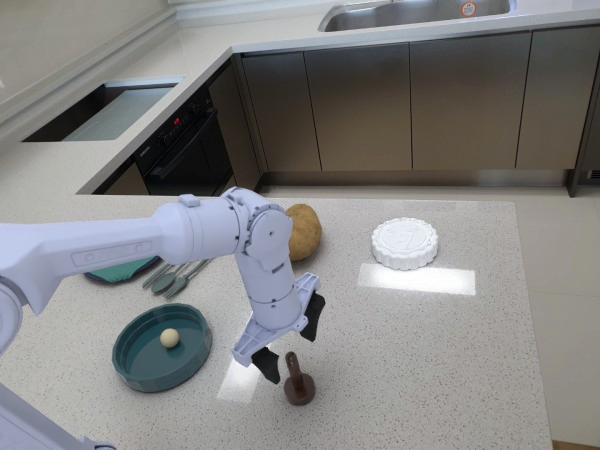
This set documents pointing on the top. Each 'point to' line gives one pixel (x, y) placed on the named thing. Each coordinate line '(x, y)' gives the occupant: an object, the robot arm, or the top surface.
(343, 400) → the top surface
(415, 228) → the mooncake
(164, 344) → the dough ball
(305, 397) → the wooden pestle
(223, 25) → the top surface
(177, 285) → the cutlery set
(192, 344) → the bowl
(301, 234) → the potato
